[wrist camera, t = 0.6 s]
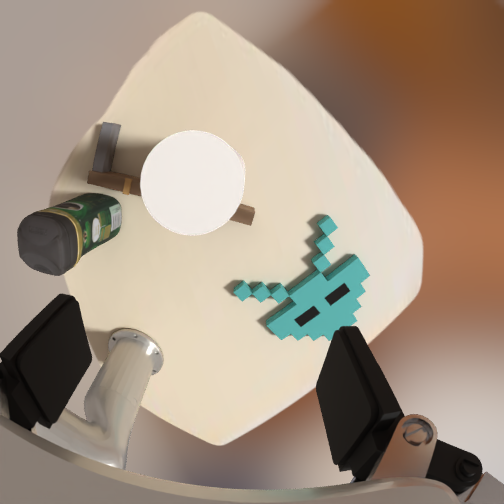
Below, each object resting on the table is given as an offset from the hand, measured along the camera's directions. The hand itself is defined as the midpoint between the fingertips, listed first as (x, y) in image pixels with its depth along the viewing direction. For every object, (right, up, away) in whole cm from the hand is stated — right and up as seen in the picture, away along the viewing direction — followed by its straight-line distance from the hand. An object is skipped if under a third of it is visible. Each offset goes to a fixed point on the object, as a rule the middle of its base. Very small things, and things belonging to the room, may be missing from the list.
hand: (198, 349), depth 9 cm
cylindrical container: (-3, +16, +32) cm, 36 cm away
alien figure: (+13, -4, +40) cm, 42 cm away
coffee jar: (-25, +10, +34) cm, 43 cm away
